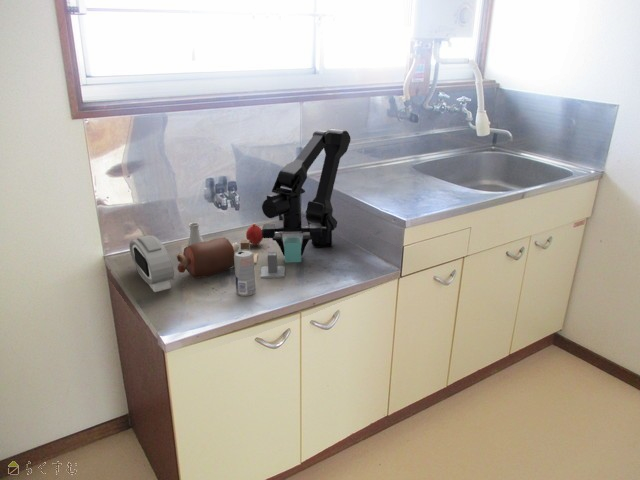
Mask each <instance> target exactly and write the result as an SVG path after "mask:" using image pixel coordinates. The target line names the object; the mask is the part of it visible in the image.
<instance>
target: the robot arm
mask: <svg viewBox="0 0 640 480" xmlns="http://www.w3.org/2000/svg"><path fill="white" fill-rule="evenodd" d="M350 144H351V135H350V134H349V132H348V131H347V130H342V129H337V128H336V129H335V128H329V129H328V130H325V131H324V130H315V131H314V132H313V133H312V137H311V138H310V140H309V141H308V142H307V144H305V146H304V147H303V149H302V150H301V151H300V152H299V154H298V156H297V157H296V158H295V159H294V160H293V161H291V162H289V163H287V164H285V166H284V167H282V168H281V169H280V170H279V172H278V174H277V177H276V180H275V182H274V185H273V187H272V189H271V193H273V194H267V195H266V199H265V200H264V201H263V202H262V204H261V210H262V213H263V214H264V215H265V217H267V218H268V219H273V218H276V217H278V220H279V221H282V226H281V227H280V226H278V227H277V226H276V223H264V224H263V225H262V228H261V230H262V238H263V239H271V240H272V241H275V242H276V243H277V245H278V246H279V248H280V251H281V253H282V256H283V257H285V253H284V236H283V234H302V236H301V257H303V255H304V252H305V249H306V246H307V245H308V243H309V241H311V244H312V247H313V248H327V247H328V248H332V247H333V231H335V229H336V228H337V226H338V225H337V224H338V220H337V219H336V218H335V217H334V216H333V212H334V210H333V209H334V208H333V206H332V202H331V200H332V194H333V190H334V186H335V182H336V177H337V173H338V170H339V166H340V160H341V158H342V157H343V156H344V155H345V154H346V153H347V152H348V148H349V146H350ZM323 150H324V153H325V157H324V159H323V165H322V169H321V174H320V177H319V180H318V182H319V183H318V184H317V192H316V194H315V197H314V198H313V199H312V200H309V201H308V202H307V207H306V210H305V219H306V221H307V224H308V226H302V201H301V199H302V198H301V197H302V196H301V195H302V194H304V193H306V191H305V189H303V186H304V184H305V182H306V180H307V179H308V171H309V169H310V167H311V166H312V165H313V163H314V162H315V161H316V159H317V158H318V157H319V155H320V154H321V153H322V151H323Z"/></svg>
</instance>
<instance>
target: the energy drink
mask: <svg viewBox="0 0 640 480" xmlns="http://www.w3.org/2000/svg"><path fill="white" fill-rule="evenodd" d="M253 254H254V252H253V251H252V250H251V249H250V250H246V249H244V250H241V249H238V251H236V252H235V255H234V264H235V265H234V273H235V275H234V276H235V277H234V278H235V290H236V294H237V295H238V296H241V297H249V296H252V295H254V294H255V293H256V289H257V288H256V274H255V272H256V271H255V264H254V255H253Z"/></svg>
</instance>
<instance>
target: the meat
mask: <svg viewBox="0 0 640 480" xmlns="http://www.w3.org/2000/svg"><path fill="white" fill-rule="evenodd" d="M238 250H240V246H239V244H238V242H232V243H231V242H230V240H229V239H228V238H226V237H219V238H213V239H211V240H207V241H206V240H205V241H204V242H199V243H195V244H192V245H190V246H188V245H187V246H185V248H184V249H183V253H181V252H180V253H178V254H177V255H176V259H177V262H179V263H178V264H177V270H178V272H179V273H185V271H187V272H188V273H189V275H190V276H191V277H192V278H193V279H200V278H205V277H209V276H213V275H217V274H220V273H222V272H224V271H226V270H230V269H231V268H233V267H235V265H234V255H235V252H236V251H238Z"/></svg>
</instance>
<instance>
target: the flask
mask: <svg viewBox="0 0 640 480" xmlns="http://www.w3.org/2000/svg"><path fill="white" fill-rule="evenodd" d="M199 226H200V223H199V222H190V223H189V224H188V227H189V229H190V231H189V240H188V244H187V247H188V246H190V245H192V244H195V243H199V242H205V241H204V239H203V237H202V235H201V233H200V229H199Z"/></svg>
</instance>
